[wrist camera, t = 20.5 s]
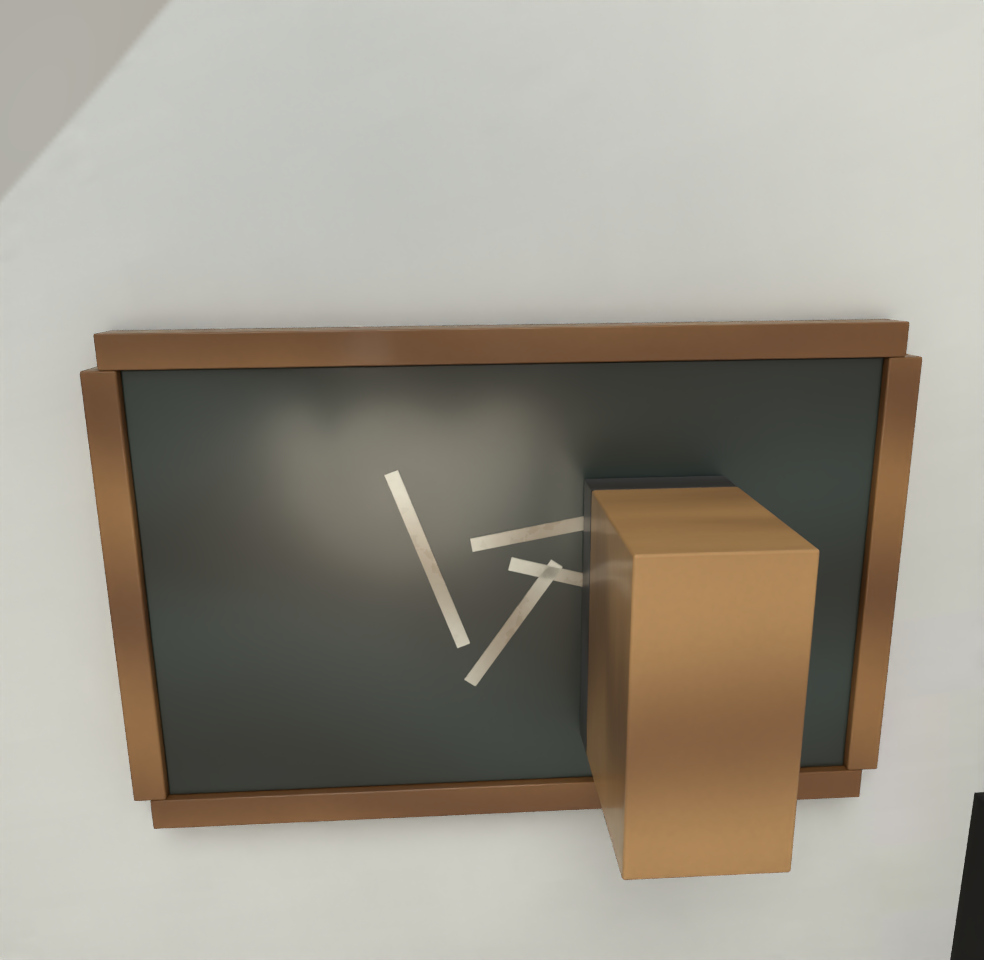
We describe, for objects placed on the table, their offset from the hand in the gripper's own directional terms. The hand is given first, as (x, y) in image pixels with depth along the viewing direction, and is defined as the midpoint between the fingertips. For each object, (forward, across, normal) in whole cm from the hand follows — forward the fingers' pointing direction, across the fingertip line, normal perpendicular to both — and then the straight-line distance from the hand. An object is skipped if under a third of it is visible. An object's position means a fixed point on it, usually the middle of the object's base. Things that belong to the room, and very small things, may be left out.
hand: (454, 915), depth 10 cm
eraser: (+20, +8, -5) cm, 22 cm away
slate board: (+21, +2, -4) cm, 22 cm away
